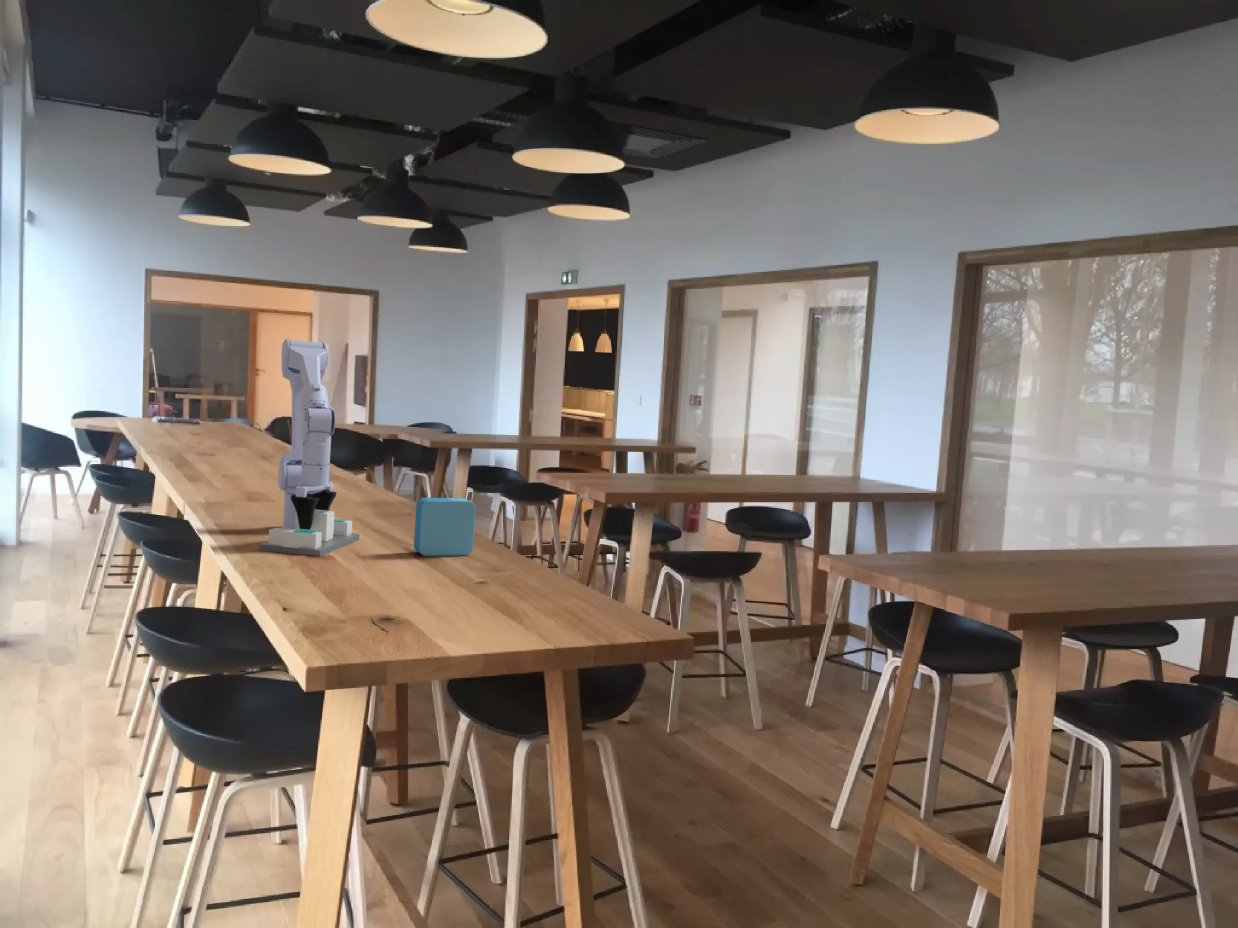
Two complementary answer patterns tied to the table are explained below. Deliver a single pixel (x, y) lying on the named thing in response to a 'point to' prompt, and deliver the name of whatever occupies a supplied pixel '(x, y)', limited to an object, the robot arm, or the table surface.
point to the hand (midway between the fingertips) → (312, 526)
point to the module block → (321, 523)
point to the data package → (444, 526)
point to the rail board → (313, 552)
